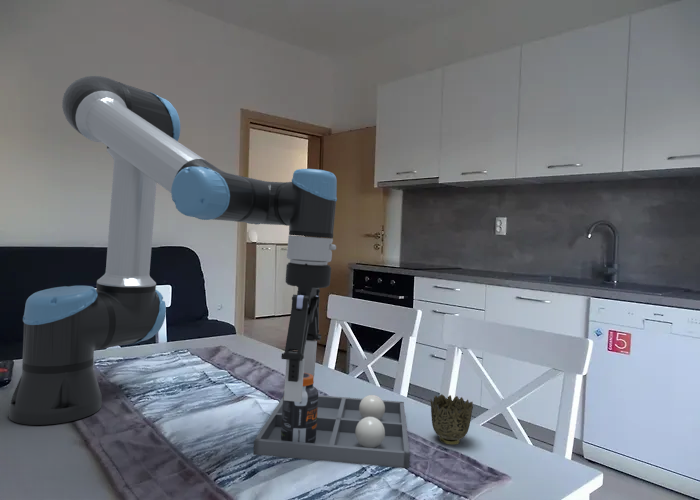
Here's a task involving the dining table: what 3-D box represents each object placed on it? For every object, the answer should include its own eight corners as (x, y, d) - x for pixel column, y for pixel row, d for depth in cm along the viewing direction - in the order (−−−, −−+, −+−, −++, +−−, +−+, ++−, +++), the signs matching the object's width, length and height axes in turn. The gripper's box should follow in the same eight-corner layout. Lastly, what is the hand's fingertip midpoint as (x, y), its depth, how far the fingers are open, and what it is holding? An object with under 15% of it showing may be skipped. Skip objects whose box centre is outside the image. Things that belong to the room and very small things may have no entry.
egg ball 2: (353, 452, 79) (355, 421, 79) (355, 439, 84) (356, 411, 84) (384, 454, 79) (385, 424, 79) (384, 442, 84) (385, 413, 84)
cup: (462, 458, 81) (465, 411, 81) (421, 446, 85) (424, 401, 85) (476, 444, 87) (478, 400, 87) (437, 433, 91) (439, 391, 91)
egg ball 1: (357, 425, 91) (359, 398, 91) (359, 415, 96) (360, 390, 96) (384, 427, 90) (385, 400, 90) (384, 417, 95) (385, 392, 95)
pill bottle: (310, 450, 79) (313, 381, 78) (275, 446, 80) (279, 377, 80) (319, 436, 85) (323, 372, 84) (287, 432, 86) (290, 368, 85)
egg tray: (252, 460, 76) (254, 440, 76) (284, 408, 101) (285, 392, 101) (408, 474, 75) (409, 453, 75) (402, 417, 99) (403, 401, 99)
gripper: (321, 268, 69) (310, 416, 70) (338, 260, 94) (330, 369, 94) (269, 264, 69) (259, 410, 70) (300, 257, 94) (292, 365, 95)
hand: (300, 387), depth 82 cm, fingers open, 13 cm apart
